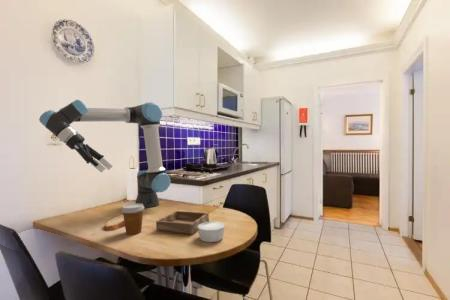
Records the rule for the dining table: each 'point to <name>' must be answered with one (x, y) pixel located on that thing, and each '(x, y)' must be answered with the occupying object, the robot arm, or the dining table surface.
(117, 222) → the bread slice
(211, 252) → the dining table surface
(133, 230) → the disposable coffee cup
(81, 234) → the dining table surface
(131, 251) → the dining table surface
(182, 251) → the dining table surface
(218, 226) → the ramekin
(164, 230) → the open wooden box
